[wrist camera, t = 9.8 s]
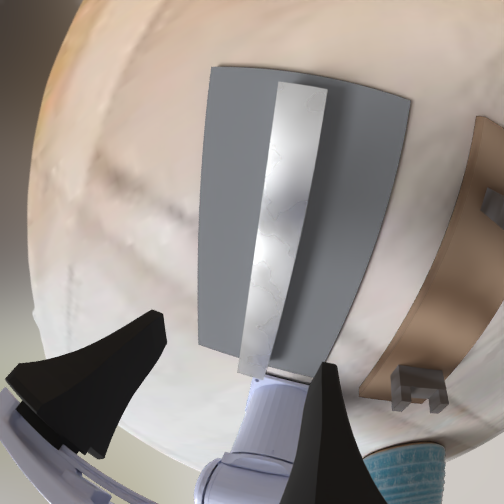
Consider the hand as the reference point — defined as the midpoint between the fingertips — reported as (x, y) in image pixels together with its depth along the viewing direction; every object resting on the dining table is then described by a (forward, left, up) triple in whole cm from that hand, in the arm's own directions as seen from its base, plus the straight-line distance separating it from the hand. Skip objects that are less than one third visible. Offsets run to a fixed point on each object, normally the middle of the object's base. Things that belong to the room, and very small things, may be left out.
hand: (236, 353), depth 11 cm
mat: (0, 0, -9) cm, 9 cm away
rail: (0, 0, -9) cm, 9 cm away
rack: (0, -15, -9) cm, 18 cm away
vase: (-33, -29, -10) cm, 45 cm away
